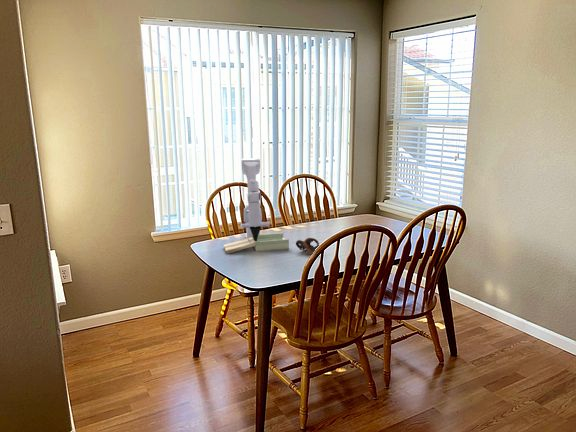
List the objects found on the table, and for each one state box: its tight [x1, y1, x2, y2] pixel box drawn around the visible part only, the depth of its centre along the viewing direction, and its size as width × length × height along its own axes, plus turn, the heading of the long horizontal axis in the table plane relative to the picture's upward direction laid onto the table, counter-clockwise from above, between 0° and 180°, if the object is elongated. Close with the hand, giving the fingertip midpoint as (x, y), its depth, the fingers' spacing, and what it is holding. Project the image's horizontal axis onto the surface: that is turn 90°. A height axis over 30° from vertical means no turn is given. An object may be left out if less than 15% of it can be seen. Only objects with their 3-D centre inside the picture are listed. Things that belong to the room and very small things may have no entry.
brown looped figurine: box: [295, 237, 320, 256], centre depth 245 cm, size 12×10×8 cm
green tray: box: [252, 232, 290, 253], centre depth 254 cm, size 13×17×5 cm
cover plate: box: [223, 237, 256, 255], centre depth 251 cm, size 11×15×2 cm
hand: (255, 240), depth 252 cm, fingers closed
